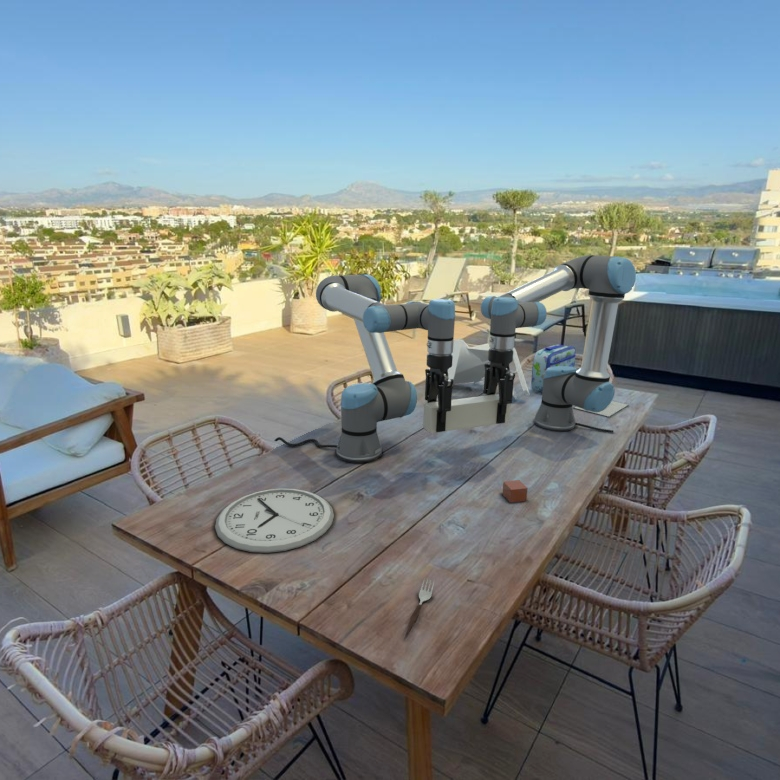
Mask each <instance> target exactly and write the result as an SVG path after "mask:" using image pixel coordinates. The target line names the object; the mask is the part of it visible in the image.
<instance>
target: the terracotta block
mask: <svg viewBox="0 0 780 780" xmlns="http://www.w3.org/2000/svg"><path fill="white" fill-rule="evenodd" d="M502 483H503V484H502V495H503V497H504V498H505V499H506V500H507V501H508V502H509V503H519V502H526V501H527V499H528V486H526V485H525V484H524V483H523V482H522V481H521V480H520V479H516V480H506V481H503V482H502Z"/></svg>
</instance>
